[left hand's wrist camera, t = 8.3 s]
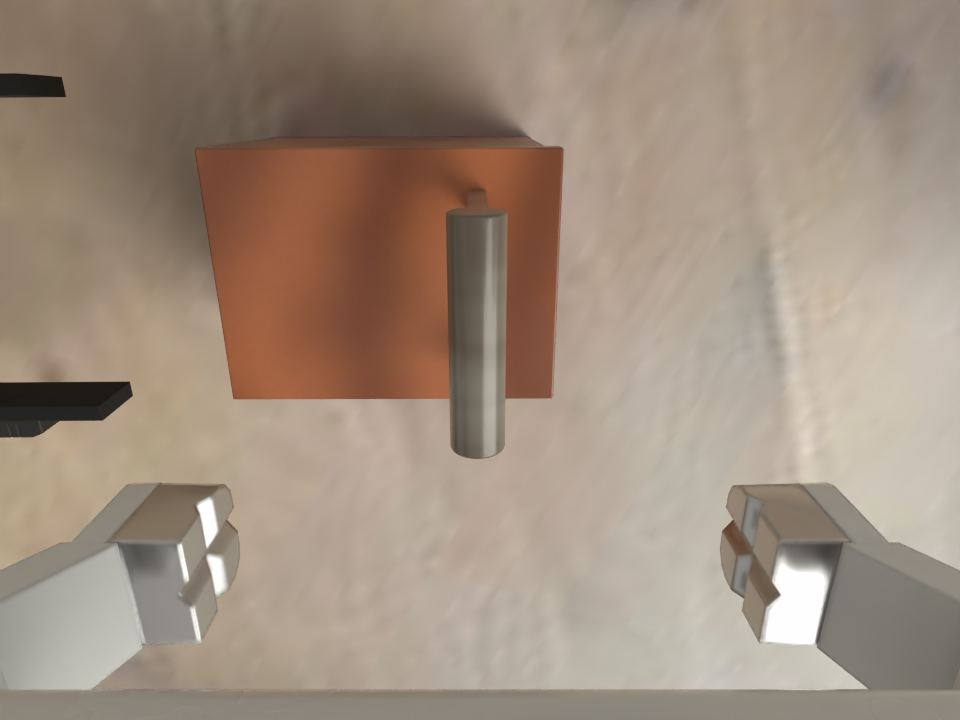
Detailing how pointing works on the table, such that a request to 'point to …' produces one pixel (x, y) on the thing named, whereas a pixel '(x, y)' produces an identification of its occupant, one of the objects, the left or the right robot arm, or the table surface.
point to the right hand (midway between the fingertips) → (84, 257)
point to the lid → (389, 275)
